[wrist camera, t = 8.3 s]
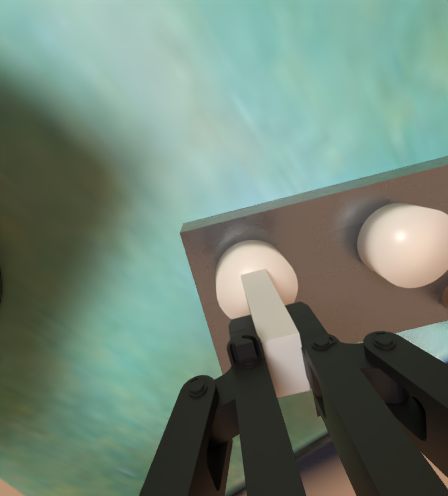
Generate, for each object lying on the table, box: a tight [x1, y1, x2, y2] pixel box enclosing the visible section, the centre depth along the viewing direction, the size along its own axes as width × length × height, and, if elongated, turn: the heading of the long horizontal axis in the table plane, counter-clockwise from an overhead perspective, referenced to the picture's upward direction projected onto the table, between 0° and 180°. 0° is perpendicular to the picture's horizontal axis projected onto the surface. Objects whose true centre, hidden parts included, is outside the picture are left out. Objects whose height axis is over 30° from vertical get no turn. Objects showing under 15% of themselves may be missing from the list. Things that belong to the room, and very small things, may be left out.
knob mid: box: [357, 203, 448, 288], centre depth 20 cm, size 5×5×6 cm
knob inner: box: [215, 240, 298, 319], centre depth 20 cm, size 5×5×6 cm
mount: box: [180, 156, 448, 375], centre depth 22 cm, size 28×12×3 cm, turn 104°
